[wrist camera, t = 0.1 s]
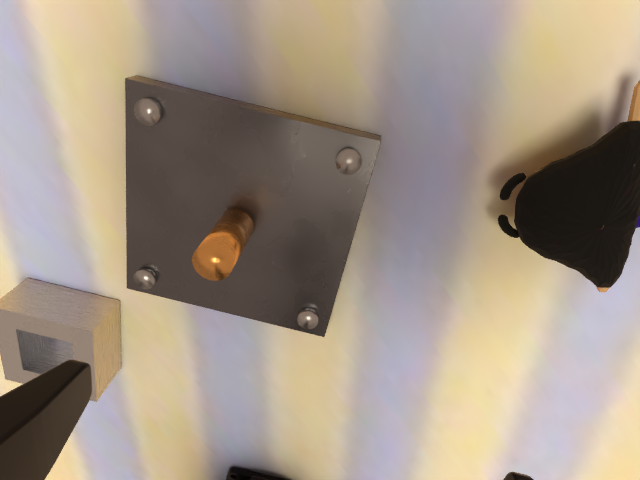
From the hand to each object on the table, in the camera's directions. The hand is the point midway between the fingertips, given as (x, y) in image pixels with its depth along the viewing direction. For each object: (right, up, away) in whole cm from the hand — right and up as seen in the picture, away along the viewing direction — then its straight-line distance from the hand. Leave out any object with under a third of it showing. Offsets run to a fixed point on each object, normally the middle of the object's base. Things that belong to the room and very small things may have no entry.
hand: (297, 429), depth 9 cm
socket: (-16, -2, +20) cm, 25 cm away
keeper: (-4, +5, +14) cm, 16 cm away
